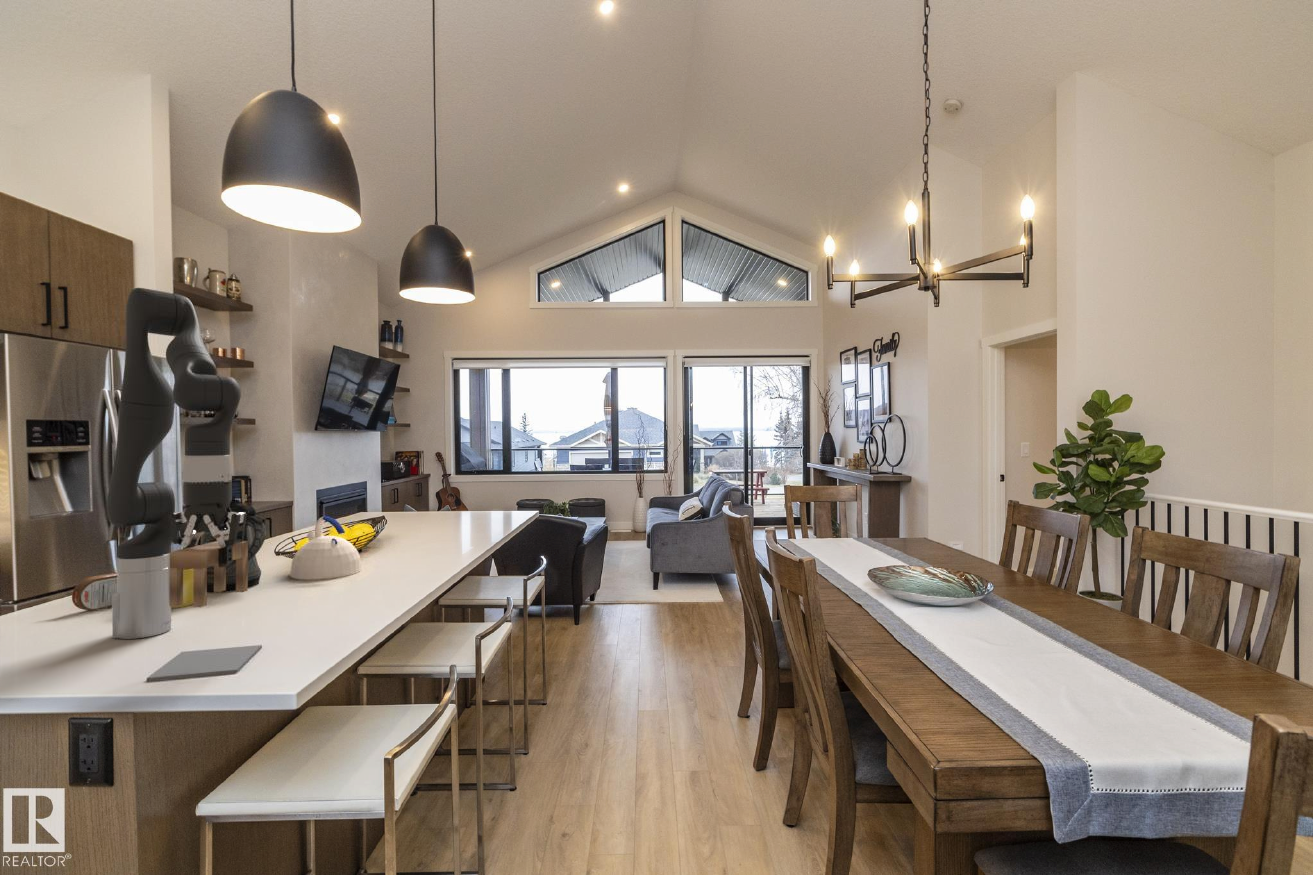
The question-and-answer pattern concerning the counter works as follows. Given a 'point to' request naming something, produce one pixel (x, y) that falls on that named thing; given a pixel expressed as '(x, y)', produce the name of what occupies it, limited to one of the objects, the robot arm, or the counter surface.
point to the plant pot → (187, 587)
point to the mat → (205, 663)
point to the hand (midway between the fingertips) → (208, 566)
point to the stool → (205, 571)
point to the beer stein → (253, 548)
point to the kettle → (325, 555)
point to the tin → (95, 592)
